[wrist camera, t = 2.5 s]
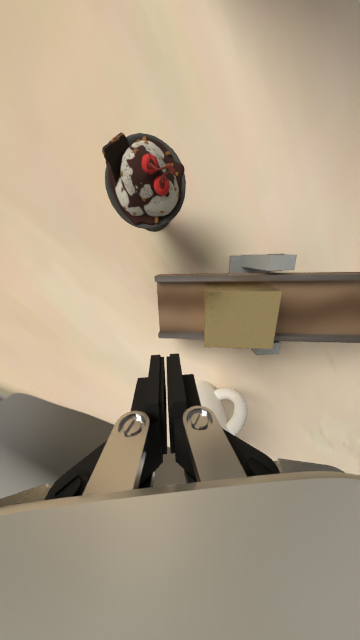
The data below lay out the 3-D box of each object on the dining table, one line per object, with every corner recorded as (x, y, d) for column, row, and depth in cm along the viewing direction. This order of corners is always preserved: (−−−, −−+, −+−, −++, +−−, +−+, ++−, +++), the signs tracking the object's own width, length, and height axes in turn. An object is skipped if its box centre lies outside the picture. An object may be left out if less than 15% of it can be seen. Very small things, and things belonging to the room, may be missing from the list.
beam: (163, 272, 27) (153, 277, 21) (374, 269, 24) (427, 274, 18) (165, 323, 30) (157, 339, 24) (355, 326, 27) (396, 345, 21)
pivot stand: (229, 254, 28) (256, 254, 20) (268, 253, 28) (310, 253, 20) (224, 330, 32) (245, 356, 24) (258, 328, 32) (289, 353, 24)
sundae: (183, 229, 26) (207, 200, 12) (138, 243, 26) (108, 231, 12) (169, 174, 24) (178, 57, 10) (120, 190, 24) (56, 98, 10)
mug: (241, 388, 36) (276, 449, 25) (192, 419, 38) (204, 488, 27) (220, 360, 34) (248, 414, 23) (168, 394, 35) (170, 460, 24)
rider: (204, 283, 22) (205, 291, 18) (264, 283, 22) (282, 291, 17) (203, 328, 24) (204, 346, 20) (258, 329, 24) (272, 348, 19)
